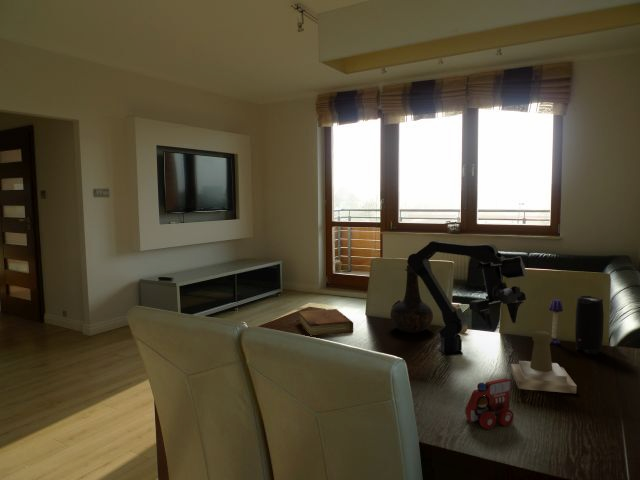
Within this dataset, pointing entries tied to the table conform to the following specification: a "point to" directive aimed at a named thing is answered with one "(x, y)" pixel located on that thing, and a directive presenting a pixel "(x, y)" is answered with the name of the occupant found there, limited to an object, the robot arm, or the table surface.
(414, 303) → the glass bottle
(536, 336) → the brown ball-topped peg
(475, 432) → the table surface
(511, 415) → the toy fire truck
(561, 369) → the stepped square base
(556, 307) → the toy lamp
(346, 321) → the diary
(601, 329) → the portable speaker
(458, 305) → the figurine
